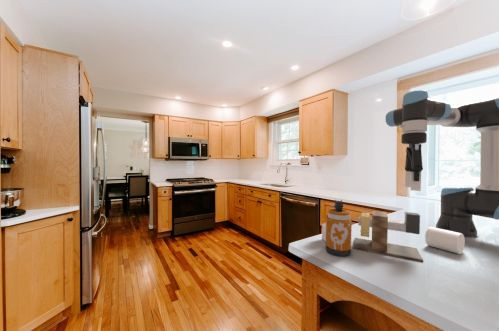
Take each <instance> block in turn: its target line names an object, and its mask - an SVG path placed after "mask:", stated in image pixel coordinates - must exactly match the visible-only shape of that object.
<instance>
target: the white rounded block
mask: <svg viewBox="0 0 499 331" xmlns="http://www.w3.org/2000/svg"><path fill="white" fill-rule="evenodd" d="M424 237H425V239H424V240H425V244H426V246H428V247H433V248H436V249H439V250H443V251H445V252H446V251H447V252H449V253H454V254H458V255H461V254H462V253H463V252H464V249H465V243H466V242H465V237H464V235H463V234H462V233H458V232H453V231H448V230H444V229H439V228H436V227H433V226H429V227H428V228H427V229H426V232H425V235H424Z"/></svg>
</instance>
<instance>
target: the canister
mask: <svg viewBox="0 0 499 331" xmlns="http://www.w3.org/2000/svg"><path fill="white" fill-rule="evenodd" d="M343 207H344V202H343V199H341V200H337V199H335V202H334V205H332V206H329V207H328V211H327V214H328V217H327V216H326V221H325V223H326V241H325V251H327V252H328V253H331V254H332V255H334V256H340V257H342V256H349V255H351V254H352V226H353V224H352V223H353V222H352V219H351V213H350V212H349V211H348V210H346V209H343Z"/></svg>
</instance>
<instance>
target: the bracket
mask: <svg viewBox="0 0 499 331" xmlns="http://www.w3.org/2000/svg"><path fill="white" fill-rule="evenodd" d="M371 213H372V214H371V218H372V227H371V240H370V239H365V238H359V237H355V238H354V241H353V248H352V249H354V250H357V251H359V250H360V251H366V252H369V253H373V254H375V253H376V254H379V255H384V256H390V257H395V258H401V259H404V260H405V259H406V260H410V259H411V260H410V261H415V260H417V261H416V262H420V261H423V262H424V259H423V257H422V255H421V252H419V250H418V248H417V247H413V246H406V245H399V244H394V243H389V242H388V231H389V230H388V220H389V217H388V213H387V212H386V211H376V210H375V211H374V210H372V211H371Z"/></svg>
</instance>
